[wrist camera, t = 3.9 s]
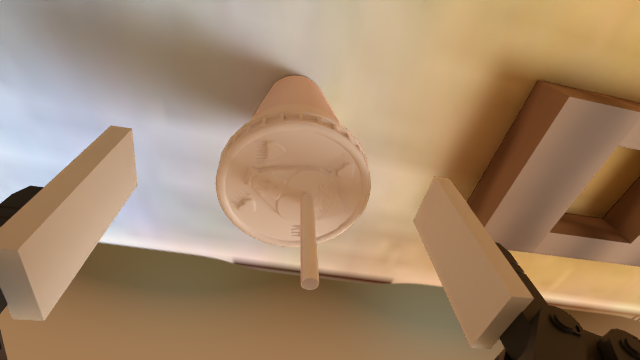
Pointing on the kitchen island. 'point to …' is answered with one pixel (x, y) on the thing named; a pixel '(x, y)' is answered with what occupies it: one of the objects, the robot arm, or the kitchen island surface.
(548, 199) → the bottle holder
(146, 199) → the kitchen island surface
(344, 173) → the smoothie
